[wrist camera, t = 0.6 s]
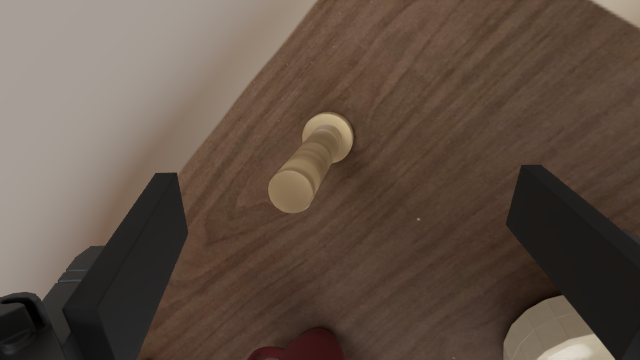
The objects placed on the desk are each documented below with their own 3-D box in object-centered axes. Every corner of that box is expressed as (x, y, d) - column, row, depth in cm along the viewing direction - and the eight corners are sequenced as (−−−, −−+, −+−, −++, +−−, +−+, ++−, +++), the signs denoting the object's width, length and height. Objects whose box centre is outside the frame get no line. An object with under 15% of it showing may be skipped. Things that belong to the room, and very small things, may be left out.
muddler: (309, 106, 35) (257, 146, 22) (358, 117, 34) (335, 164, 21) (301, 153, 36) (248, 217, 23) (348, 164, 36) (321, 235, 23)
